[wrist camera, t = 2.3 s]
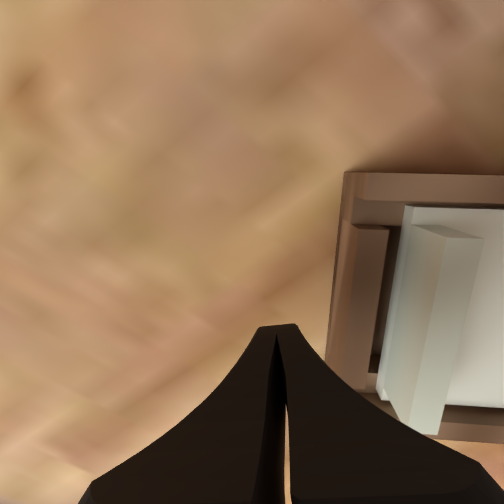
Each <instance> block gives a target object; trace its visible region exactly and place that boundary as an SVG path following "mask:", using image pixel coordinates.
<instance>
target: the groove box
mask: <svg viewBox="0 0 504 504" xmlns="http://www.w3.org/2000/svg"><path fill="white" fill-rule="evenodd" d="M405 205H424V206H460V207H496V208H504V176H502V175H457V174H412V173H365V172H344V178H343V188H342V197H341V207H340V217H339V227H338V236H337V246H336V256H335V266H334V275H333V285H332V295H331V305H330V314H329V324H328V334H327V344H326V353H325V363H326V364H327V365H328V366H329V367H330V368H331V369H332V370H333V371H334V372H335V373H336V374H337V375H338V376H339V377H340V378H341V379H342V380H343V381H344V382H346V383H347V384H348V385H349V386H350V387H351V388H353V389H354V390H355V391H356V392H358V393H359V394H360V395H361V396H363V397H364V398H365V399H367V400H368V401H370V402H371V403H373V404H374V405H376V406H377V407H378V408H380V409H381V410H383V411H384V412H386V413H387V414H389V415H390V416H392V417H394V418H395V419H397V420H398V421H400V419H399V417H398V416H397V414H396V412H395V410H394V408H393V406H392V404H391V402H390V401H387V400H381V399H380V396H379V394H378V392H377V390H376V383H377V377H378V371H379V364H380V358H381V352H382V346H383V340H384V333H385V327H386V321H387V315H388V309H389V303H390V296H391V290H392V284H393V278H394V272H395V265H396V259H397V253H398V247H399V241H400V234H401V228H402V222H403V216H404V210H405ZM400 422H401V421H400ZM423 435H425V436H427V437H428V438H430V439H440V440H454V441H468V442H482V443H496V444H504V408H496V407H480V406H465V405H449V404H445V406H444V410H443V414H442V418H441V423H440V427H439V431H438V435H429V434H423Z"/></svg>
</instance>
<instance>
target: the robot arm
mask: <svg viewBox="0 0 504 504" xmlns="http://www.w3.org/2000/svg"><path fill="white" fill-rule="evenodd" d="M286 407H287V413H288V425H289V452H290V494H291V501H292V504H504V490H503V489H502V488H501V487H500V486H499V485H498V484H497V483H496V481H495V480H494V479H493V478H492V477H491V476H490V475H489V474H488V472H487V471H486V470H485V469H484V468H483V467H482V465H481V464H480V463H479V462H477V461H475V460H473V459H471V458H469V457H467V456H465V455H463V454H461V453H459V452H457V451H455V450H453V449H451V448H449V447H447V446H445V445H443V444H441V443H439V442H437V441H435V440H433V439H430V438H428V437H427V436H425V435H423V434H421V433H419V432H418V431H416V430H414V429H412V428H411V427H409V426H407V425H405V424H404V423H402V422H400V421H398V420H397V419H395V418H394V417H392V416H390V415H389V414H387V413H386V412H384V411H383V410H381V409H380V408H378V407H377V406H376V405H374V404H373V403H371V402H370V401H368V400H367V399H365V398H364V397H363V396H361V395H360V394H359V393H358V392H356V391H355V390H354V389H353V388H351V387H350V386H349V385H348V384H347V383H346V382H344V381H343V380H342V379H341V378H340V377H339V376H338V375H337V374H336V373H335V372H334V371H333V370H332V369H331V368H330V367H329V366H328V365H327V364H326V363H325V362H324V361H323V360H322V359H321V358H320V357H319V355H318V354H317V353H316V352H315V351H314V349H313V348H312V347H311V346H310V344H309V343H308V342H307V340H306V339H305V338H304V336H303V335H302V333H301V332H300V330H299V328H298V326H297V325H296V324H283V325H273V326H263V327H259V328H258V329H257V331H256V333H255V334H254V336H253V338H252V340H251V341H250V343H249V345H248V346H247V348H246V349H245V351H244V352H243V354H242V355H241V357H240V358H239V360H238V361H237V363H236V364H235V365H234V367H233V368H232V369H231V371H230V372H229V373H228V374H227V376H226V377H225V378H224V380H223V381H222V382H221V383H220V384H219V385H218V387H217V388H216V389H215V390H214V391H213V392H212V393H211V394H210V395H209V396H208V397H207V398H206V399H205V400H204V401H203V402H202V403H201V404H200V405H199V406H198V407H196V408H195V409H194V410H193V411H192V412H191V413H190V414H188V415H187V416H186V417H185V418H184V419H183V420H182V421H181V422H179V423H178V424H177V425H176V426H174V427H173V428H172V429H170V430H169V431H168V432H167V433H165V434H164V435H163V436H161V437H160V438H158V439H157V440H156V441H154V442H153V443H152V444H150V445H149V446H147V447H146V448H144V449H143V450H142V451H140V452H139V453H137V454H136V455H134V456H132V457H131V458H129V459H128V460H126V461H124V462H123V463H121V464H120V465H118V466H116V467H115V468H113V469H112V470H110V471H108V472H107V473H105V474H104V475H102V476H100V477H99V478H97V479H95V480H93V481H92V482H91V484H90V485H89V487H88V488H87V490H86V491H85V493H84V495H83V496H82V498H81V499H80V501H79V503H78V504H285V491H284V460H285V416H286Z"/></svg>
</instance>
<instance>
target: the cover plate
mask: <svg viewBox="0 0 504 504" xmlns="http://www.w3.org/2000/svg"><path fill="white" fill-rule="evenodd" d="M376 390H377V392H378V394H379V396H380V399H381V400H387V401H390V402H391V404H392V406H393V408H394V410H395V412H396V414H397V416H398V417H399V419H400V421H401V422H402V423H404V424H405V425H407V426H409V427H411V428H412V429H414V430H416V431H418V432H419V433H421V434H429V435H438V431H439V427H440V423H441V418H442V414H443V410H444V406H445V404H449V405H465V406H480V407H496V408H504V208H496V207H460V206H424V205H405V210H404V216H403V222H402V228H401V234H400V241H399V247H398V253H397V259H396V265H395V272H394V278H393V284H392V290H391V296H390V303H389V309H388V315H387V321H386V327H385V333H384V340H383V346H382V352H381V358H380V364H379V371H378V377H377V383H376Z"/></svg>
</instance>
